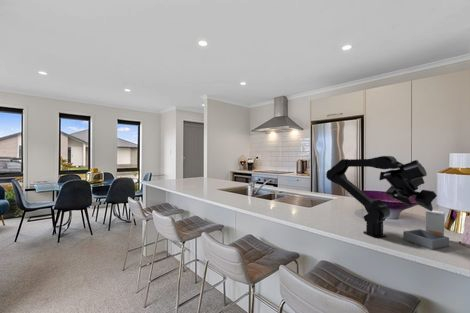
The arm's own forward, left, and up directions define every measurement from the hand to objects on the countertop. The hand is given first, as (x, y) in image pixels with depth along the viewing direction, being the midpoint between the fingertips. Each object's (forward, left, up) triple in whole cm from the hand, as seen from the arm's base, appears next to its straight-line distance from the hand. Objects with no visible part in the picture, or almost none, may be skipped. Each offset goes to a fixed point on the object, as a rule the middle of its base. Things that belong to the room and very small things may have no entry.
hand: (420, 207), depth 93 cm
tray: (-3, -3, -14) cm, 14 cm away
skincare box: (+6, -2, -14) cm, 15 cm away
